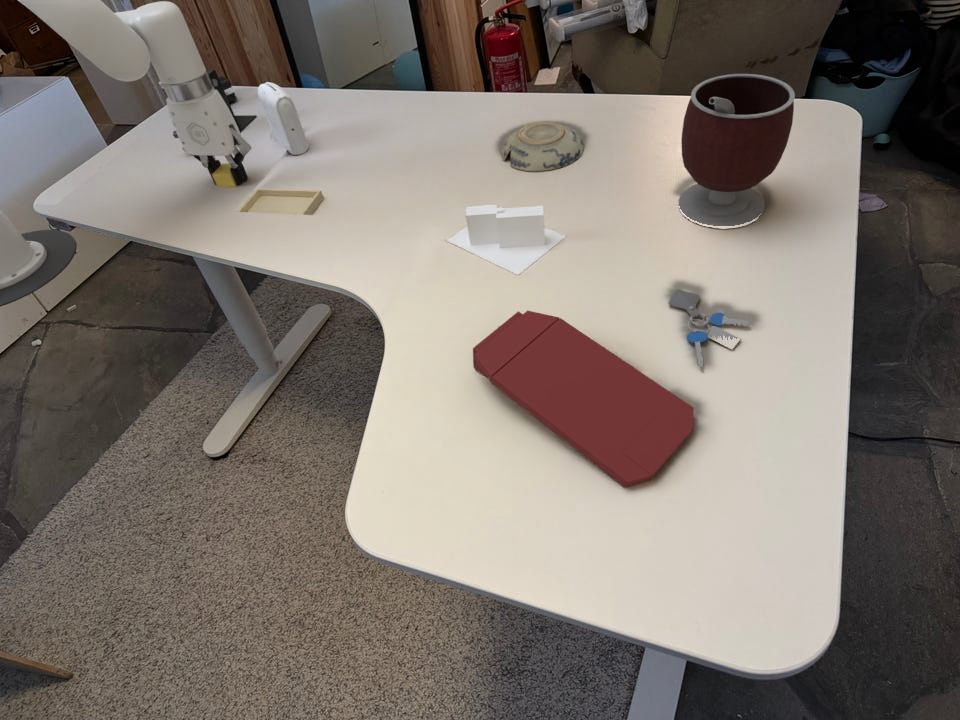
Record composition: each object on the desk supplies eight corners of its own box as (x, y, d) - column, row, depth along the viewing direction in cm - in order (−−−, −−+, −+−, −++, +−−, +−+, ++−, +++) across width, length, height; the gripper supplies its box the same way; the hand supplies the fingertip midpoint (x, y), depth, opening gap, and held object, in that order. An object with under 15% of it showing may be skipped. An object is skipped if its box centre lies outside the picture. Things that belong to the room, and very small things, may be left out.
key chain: (662, 294, 80) (663, 289, 79) (724, 284, 80) (725, 279, 79) (698, 371, 70) (699, 366, 70) (768, 360, 70) (770, 355, 70)
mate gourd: (702, 172, 99) (722, 43, 84) (786, 197, 91) (824, 61, 77) (649, 218, 92) (662, 87, 78) (735, 249, 85) (767, 110, 70)
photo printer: (312, 149, 122) (291, 88, 113) (293, 158, 120) (270, 96, 111) (291, 134, 128) (270, 74, 119) (273, 141, 126) (249, 82, 117)
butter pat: (237, 190, 113) (230, 174, 111) (218, 189, 114) (211, 174, 112) (247, 178, 116) (240, 163, 114) (229, 178, 117) (222, 163, 115)
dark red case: (692, 437, 69) (527, 322, 79) (704, 414, 65) (529, 296, 75) (629, 510, 63) (462, 376, 74) (638, 490, 60) (460, 352, 70)
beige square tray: (291, 241, 100) (288, 233, 99) (224, 238, 103) (220, 230, 102) (323, 198, 108) (321, 190, 107) (260, 196, 111) (257, 188, 110)
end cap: (195, 108, 144) (181, 79, 139) (221, 96, 147) (209, 67, 142) (213, 118, 138) (200, 88, 134) (240, 106, 141) (228, 76, 136)
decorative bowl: (600, 144, 109) (537, 123, 117) (601, 124, 107) (536, 104, 115) (547, 182, 103) (484, 157, 111) (546, 162, 100) (482, 138, 108)
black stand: (231, 147, 127) (204, 86, 117) (191, 147, 129) (161, 87, 120) (258, 120, 134) (234, 61, 125) (220, 121, 137) (194, 62, 128)
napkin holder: (566, 235, 92) (566, 203, 88) (519, 275, 87) (515, 242, 82) (493, 206, 100) (489, 175, 95) (445, 241, 94) (439, 210, 90)
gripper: (134, 96, 102) (185, 192, 115) (219, 96, 97) (261, 195, 111) (160, 78, 106) (206, 172, 120) (242, 76, 102) (280, 174, 115)
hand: (232, 182), depth 115 cm, fingers closed on butter pat, 4 cm apart
